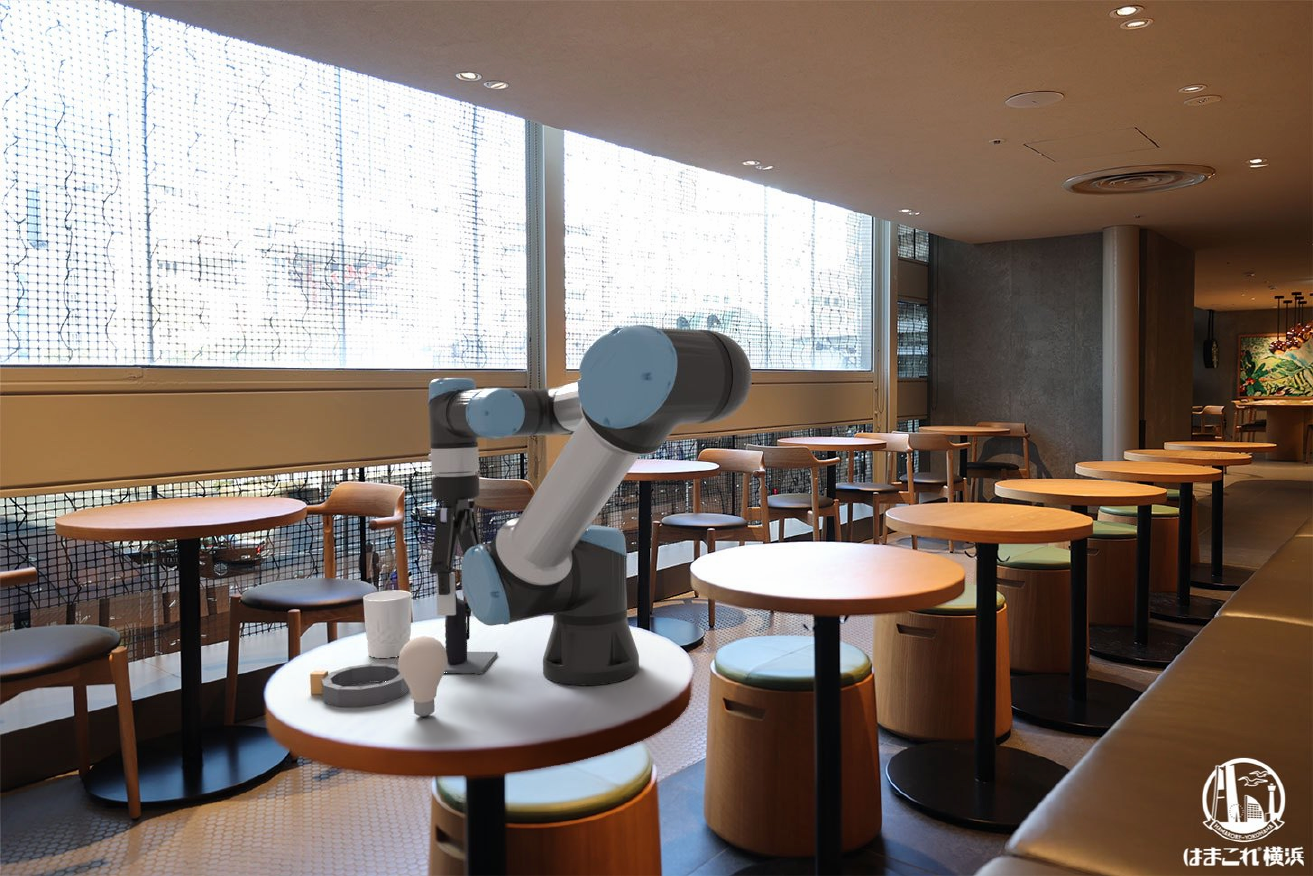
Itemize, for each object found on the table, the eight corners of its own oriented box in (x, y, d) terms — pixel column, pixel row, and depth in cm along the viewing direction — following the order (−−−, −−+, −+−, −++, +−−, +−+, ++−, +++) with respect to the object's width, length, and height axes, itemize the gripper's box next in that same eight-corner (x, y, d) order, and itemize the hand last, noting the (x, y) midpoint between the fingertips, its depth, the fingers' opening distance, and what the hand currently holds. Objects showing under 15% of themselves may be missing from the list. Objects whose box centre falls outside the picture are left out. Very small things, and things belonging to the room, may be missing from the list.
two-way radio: (444, 657, 144) (442, 567, 144) (472, 654, 146) (469, 565, 145) (447, 666, 139) (445, 573, 138) (475, 663, 141) (473, 571, 140)
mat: (497, 655, 147) (497, 651, 147) (482, 674, 137) (481, 670, 137) (439, 655, 148) (439, 651, 148) (419, 673, 138) (419, 669, 138)
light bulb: (405, 709, 122) (403, 631, 122) (452, 707, 122) (451, 629, 122) (394, 726, 115) (392, 644, 115) (444, 724, 116) (442, 642, 115)
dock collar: (418, 680, 135) (418, 660, 135) (390, 707, 123) (390, 686, 123) (330, 679, 136) (330, 660, 135) (294, 706, 124) (293, 685, 124)
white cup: (420, 647, 153) (418, 590, 152) (402, 660, 145) (400, 601, 145) (376, 646, 154) (374, 590, 153) (356, 660, 146) (355, 600, 145)
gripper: (455, 469, 154) (458, 589, 154) (405, 481, 129) (410, 624, 129) (497, 468, 153) (500, 588, 154) (455, 480, 128) (460, 623, 129)
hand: (459, 605), depth 142 cm, fingers open, 13 cm apart
